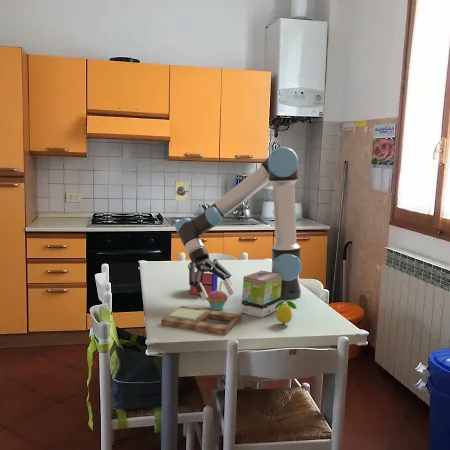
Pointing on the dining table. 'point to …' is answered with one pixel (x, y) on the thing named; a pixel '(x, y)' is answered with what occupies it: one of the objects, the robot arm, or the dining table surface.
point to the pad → (187, 314)
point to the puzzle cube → (205, 283)
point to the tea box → (261, 293)
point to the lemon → (285, 311)
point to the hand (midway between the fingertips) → (219, 296)
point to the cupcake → (217, 299)
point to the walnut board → (205, 321)
